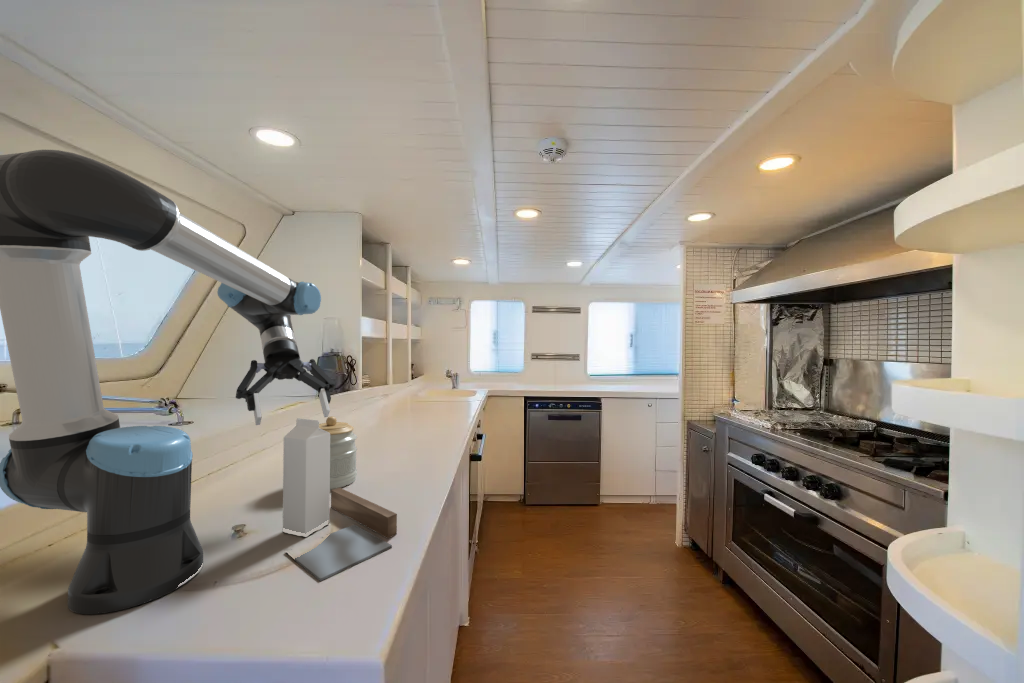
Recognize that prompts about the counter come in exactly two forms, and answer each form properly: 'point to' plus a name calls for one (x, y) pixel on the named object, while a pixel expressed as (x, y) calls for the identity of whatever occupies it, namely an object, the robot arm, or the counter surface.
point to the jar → (341, 452)
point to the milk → (306, 476)
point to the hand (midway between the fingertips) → (294, 417)
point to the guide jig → (350, 536)
